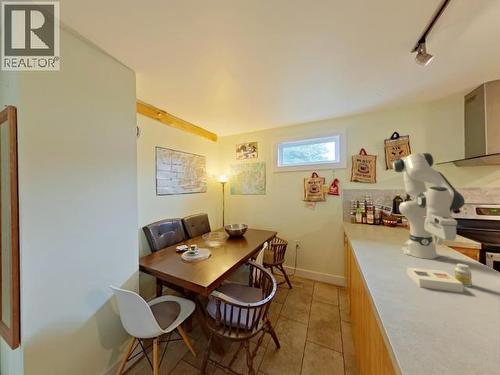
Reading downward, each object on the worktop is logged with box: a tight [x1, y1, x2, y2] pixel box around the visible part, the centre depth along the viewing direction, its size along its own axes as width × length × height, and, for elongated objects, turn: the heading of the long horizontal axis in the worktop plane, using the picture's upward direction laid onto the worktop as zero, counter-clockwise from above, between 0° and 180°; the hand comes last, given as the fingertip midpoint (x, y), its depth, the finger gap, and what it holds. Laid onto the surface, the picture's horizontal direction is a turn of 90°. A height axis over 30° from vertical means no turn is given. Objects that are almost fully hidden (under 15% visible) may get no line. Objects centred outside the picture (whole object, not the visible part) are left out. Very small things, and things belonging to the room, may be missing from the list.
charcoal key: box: [415, 272, 430, 277], centre depth 96 cm, size 5×5×3 cm
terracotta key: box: [436, 275, 450, 279], centre depth 94 cm, size 5×5×3 cm
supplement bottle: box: [454, 263, 473, 288], centre depth 92 cm, size 5×5×10 cm
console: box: [406, 267, 464, 293], centre depth 95 cm, size 14×16×4 cm
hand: (438, 244), depth 97 cm, fingers closed
